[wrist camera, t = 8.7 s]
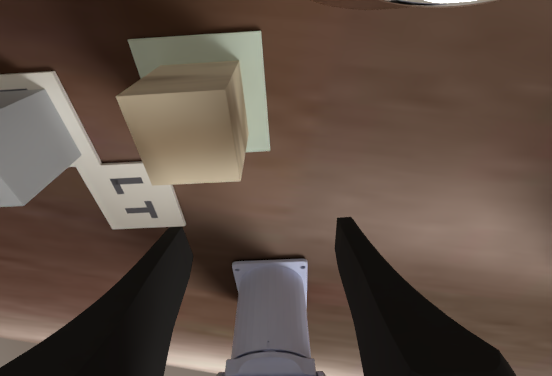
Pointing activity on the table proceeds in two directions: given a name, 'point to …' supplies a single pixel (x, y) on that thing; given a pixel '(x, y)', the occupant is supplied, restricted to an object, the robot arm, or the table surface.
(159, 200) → the tile
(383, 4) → the silver metal cup
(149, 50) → the mat
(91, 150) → the tile
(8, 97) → the grey block
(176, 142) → the maple block
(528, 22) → the table surface
